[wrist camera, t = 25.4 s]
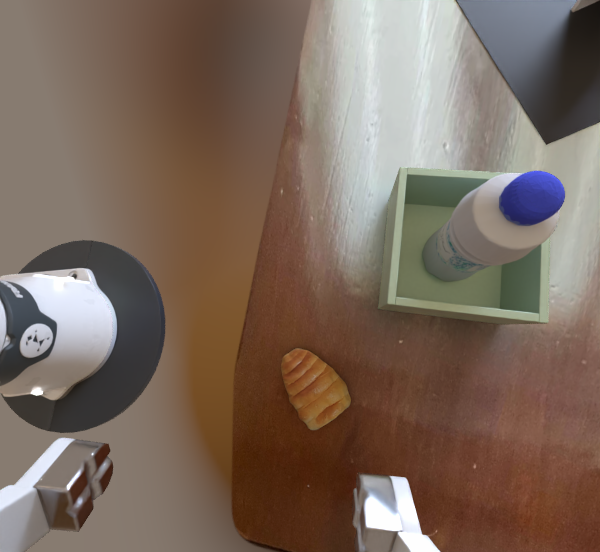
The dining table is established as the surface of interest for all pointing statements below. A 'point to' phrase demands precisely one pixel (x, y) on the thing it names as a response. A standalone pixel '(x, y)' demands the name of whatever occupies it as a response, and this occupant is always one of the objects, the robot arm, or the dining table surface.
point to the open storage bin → (464, 293)
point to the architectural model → (545, 57)
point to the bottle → (495, 225)
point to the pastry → (313, 388)
